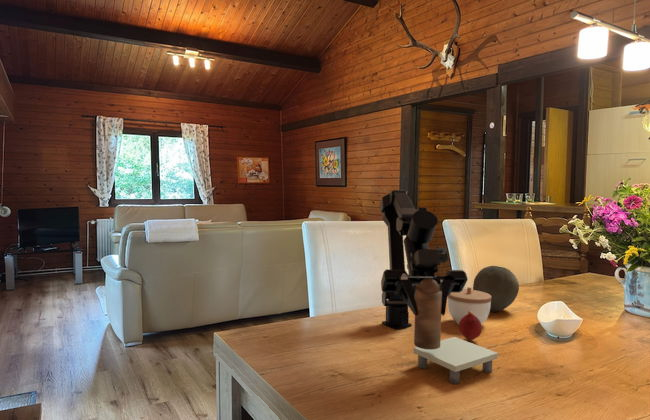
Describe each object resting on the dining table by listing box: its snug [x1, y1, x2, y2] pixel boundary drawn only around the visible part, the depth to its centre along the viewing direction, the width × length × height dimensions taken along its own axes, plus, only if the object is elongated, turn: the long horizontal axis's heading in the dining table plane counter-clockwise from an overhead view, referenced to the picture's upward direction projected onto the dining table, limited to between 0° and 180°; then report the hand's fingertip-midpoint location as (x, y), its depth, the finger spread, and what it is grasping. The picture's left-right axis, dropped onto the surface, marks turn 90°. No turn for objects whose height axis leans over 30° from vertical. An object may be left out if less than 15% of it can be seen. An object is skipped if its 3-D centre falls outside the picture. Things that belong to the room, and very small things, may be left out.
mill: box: [413, 278, 442, 350], centre depth 93 cm, size 6×6×15 cm
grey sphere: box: [472, 265, 520, 312], centre depth 143 cm, size 14×14×15 cm
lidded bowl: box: [447, 286, 491, 326], centre depth 128 cm, size 13×13×11 cm
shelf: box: [412, 336, 499, 385], centre depth 96 cm, size 12×14×4 cm
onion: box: [458, 311, 483, 342], centre depth 114 cm, size 6×6×8 cm
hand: (429, 314), depth 91 cm, fingers closed on mill, 6 cm apart
